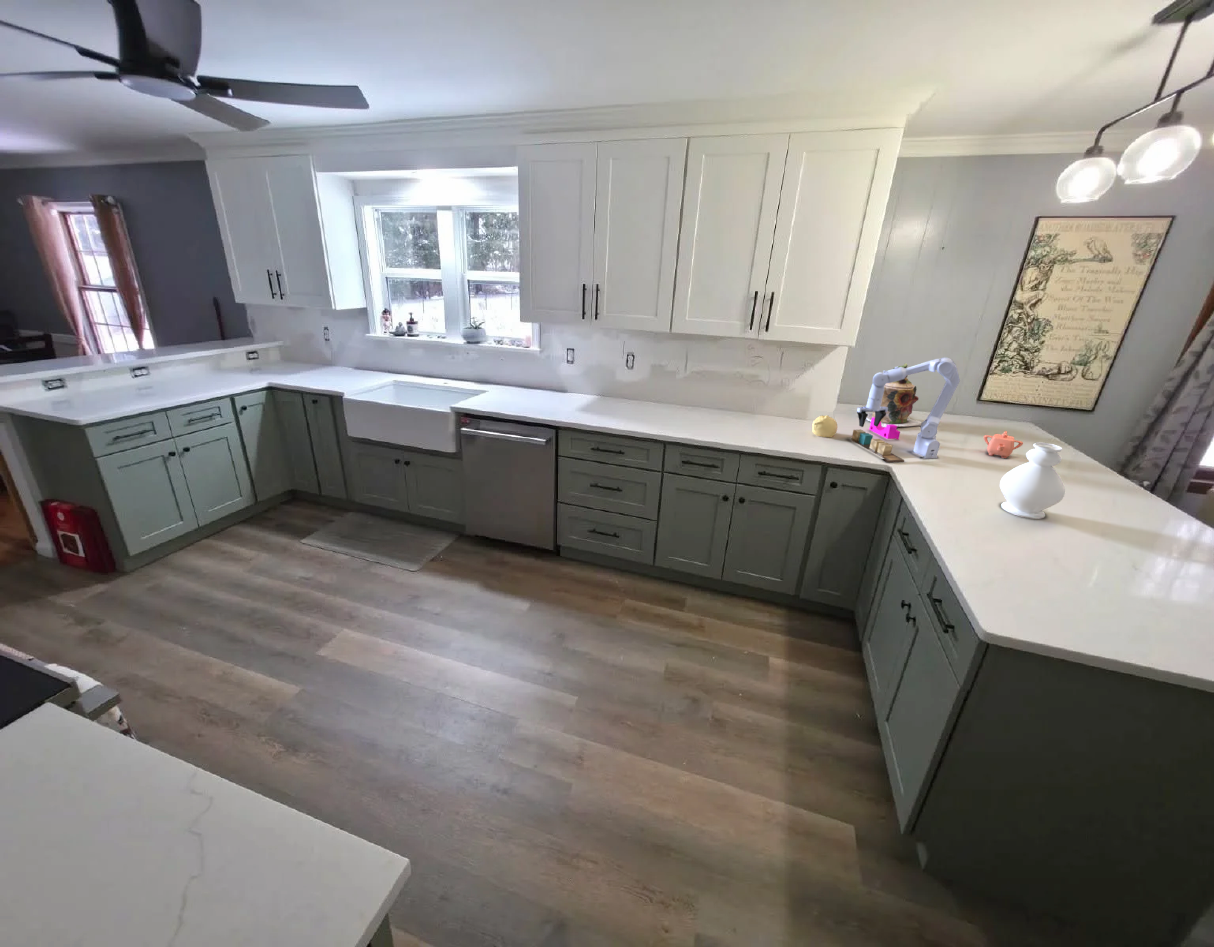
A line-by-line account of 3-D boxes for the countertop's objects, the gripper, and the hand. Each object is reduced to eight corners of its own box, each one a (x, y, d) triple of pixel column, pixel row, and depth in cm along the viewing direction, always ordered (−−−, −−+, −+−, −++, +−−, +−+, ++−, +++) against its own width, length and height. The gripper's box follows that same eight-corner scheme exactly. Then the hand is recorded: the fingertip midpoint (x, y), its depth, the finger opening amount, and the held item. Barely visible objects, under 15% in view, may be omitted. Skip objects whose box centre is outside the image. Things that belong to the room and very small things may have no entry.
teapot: (1022, 460, 225) (1030, 439, 221) (996, 460, 225) (1003, 439, 221) (999, 449, 238) (1006, 429, 234) (974, 449, 238) (981, 429, 234)
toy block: (898, 440, 249) (901, 425, 246) (886, 440, 248) (890, 426, 245) (879, 430, 262) (883, 417, 259) (868, 430, 262) (871, 417, 259)
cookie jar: (855, 416, 285) (867, 360, 273) (889, 413, 292) (902, 358, 279) (889, 429, 264) (904, 369, 251) (925, 426, 271) (941, 367, 258)
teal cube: (871, 444, 239) (873, 435, 238) (863, 444, 239) (865, 435, 237) (865, 441, 243) (867, 432, 241) (858, 441, 242) (860, 433, 241)
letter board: (903, 461, 222) (907, 450, 219) (887, 462, 220) (890, 451, 218) (860, 438, 250) (863, 428, 247) (846, 439, 248) (848, 429, 246)
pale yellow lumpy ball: (812, 431, 260) (816, 411, 256) (836, 435, 255) (841, 414, 250) (808, 437, 251) (812, 416, 247) (833, 441, 246) (837, 420, 241)
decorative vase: (1044, 527, 168) (1073, 459, 158) (984, 507, 181) (1007, 443, 171) (1061, 513, 177) (1089, 448, 167) (1002, 495, 191) (1025, 434, 181)
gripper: (883, 395, 237) (876, 423, 242) (855, 396, 235) (849, 423, 240) (893, 399, 231) (886, 427, 236) (865, 400, 228) (858, 428, 234)
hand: (868, 426), depth 238 cm, fingers open, 7 cm apart
